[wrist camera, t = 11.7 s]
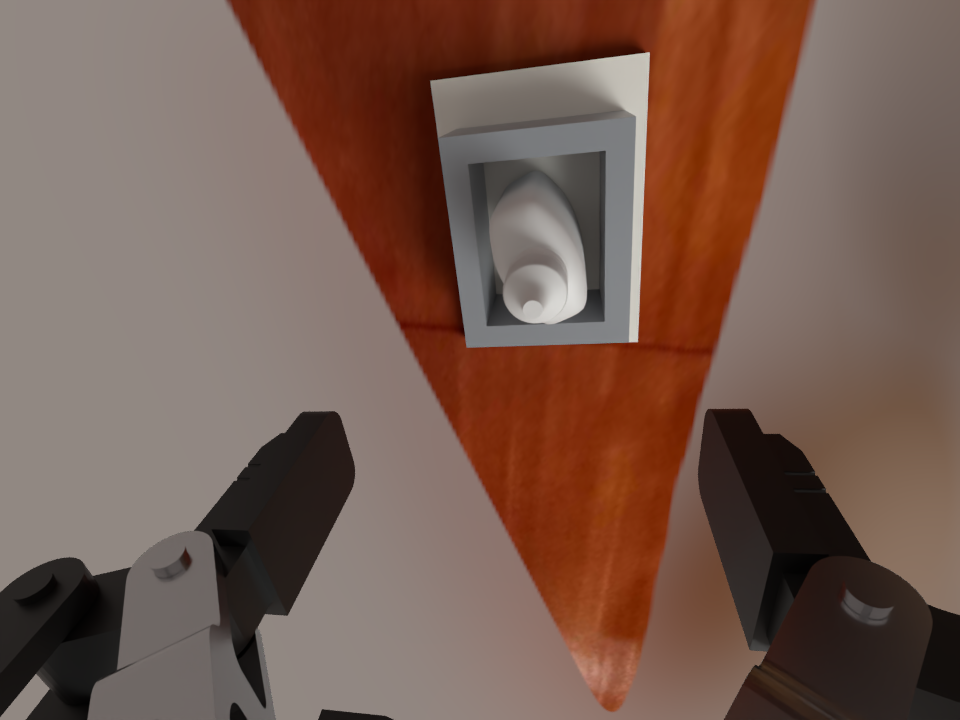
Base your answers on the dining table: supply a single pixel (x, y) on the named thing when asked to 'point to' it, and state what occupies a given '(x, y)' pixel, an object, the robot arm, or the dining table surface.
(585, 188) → the socket
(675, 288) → the dining table surface
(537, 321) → the eye dropper bottle
